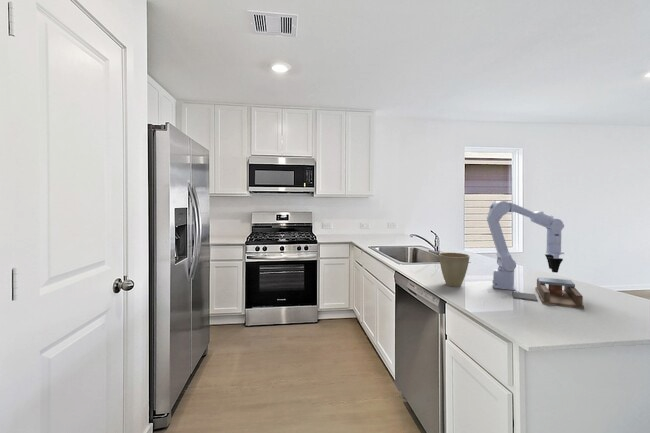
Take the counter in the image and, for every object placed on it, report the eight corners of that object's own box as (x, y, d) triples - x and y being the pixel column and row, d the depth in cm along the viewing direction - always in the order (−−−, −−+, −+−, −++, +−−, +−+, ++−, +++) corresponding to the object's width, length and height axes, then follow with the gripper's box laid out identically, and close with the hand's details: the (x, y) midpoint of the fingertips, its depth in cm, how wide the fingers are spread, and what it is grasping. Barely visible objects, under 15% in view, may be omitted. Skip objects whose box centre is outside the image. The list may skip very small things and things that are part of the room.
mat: (513, 298, 141) (513, 297, 141) (512, 292, 149) (512, 291, 149) (537, 301, 137) (537, 299, 137) (534, 295, 145) (534, 294, 145)
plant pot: (475, 286, 161) (475, 255, 160) (456, 290, 154) (456, 258, 153) (450, 279, 174) (451, 251, 173) (432, 283, 167) (432, 254, 166)
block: (549, 295, 145) (550, 284, 145) (548, 292, 149) (548, 282, 149) (561, 296, 143) (562, 286, 143) (559, 294, 147) (560, 283, 147)
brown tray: (542, 303, 134) (542, 291, 134) (535, 289, 155) (535, 278, 154) (583, 308, 128) (584, 296, 128) (570, 293, 148) (571, 282, 148)
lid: (539, 283, 145) (540, 280, 145) (537, 279, 152) (537, 276, 152) (574, 287, 139) (575, 284, 139) (570, 282, 146) (570, 280, 146)
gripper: (567, 245, 143) (566, 274, 144) (560, 241, 156) (560, 268, 157) (548, 244, 147) (548, 273, 147) (543, 240, 159) (543, 266, 160)
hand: (553, 270), depth 152 cm, fingers open, 7 cm apart
